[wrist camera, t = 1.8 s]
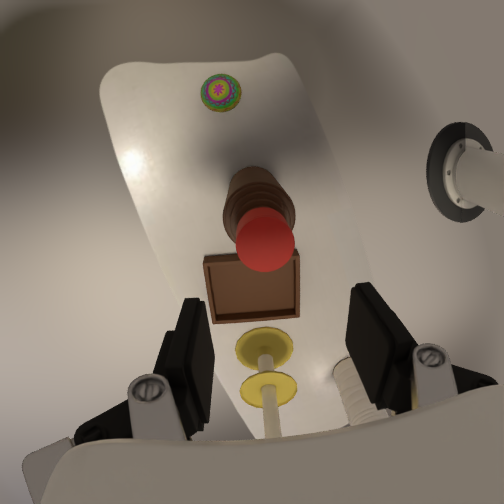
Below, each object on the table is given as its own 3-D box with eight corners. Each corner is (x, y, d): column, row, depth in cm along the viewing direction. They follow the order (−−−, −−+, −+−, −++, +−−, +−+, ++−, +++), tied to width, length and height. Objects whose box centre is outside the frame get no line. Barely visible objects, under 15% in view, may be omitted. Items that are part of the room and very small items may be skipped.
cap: (288, 205, 21) (295, 214, 19) (290, 254, 23) (296, 269, 20) (233, 209, 21) (233, 219, 19) (238, 258, 23) (238, 274, 20)
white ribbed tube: (360, 351, 50) (410, 460, 27) (366, 371, 53) (409, 473, 29) (317, 369, 51) (350, 485, 28) (326, 388, 54) (356, 494, 31)
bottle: (275, 164, 38) (311, 193, 19) (278, 211, 40) (311, 281, 21) (226, 168, 38) (211, 200, 19) (231, 215, 40) (222, 288, 21)
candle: (289, 369, 51) (313, 502, 26) (235, 369, 51) (234, 507, 26) (296, 326, 47) (333, 474, 22) (235, 326, 47) (233, 481, 22)
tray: (296, 248, 42) (299, 255, 40) (297, 309, 46) (299, 317, 44) (204, 256, 42) (202, 263, 40) (213, 315, 46) (212, 324, 44)
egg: (245, 108, 35) (246, 103, 29) (208, 117, 35) (202, 114, 29) (236, 74, 33) (235, 63, 27) (199, 84, 33) (192, 74, 28)
